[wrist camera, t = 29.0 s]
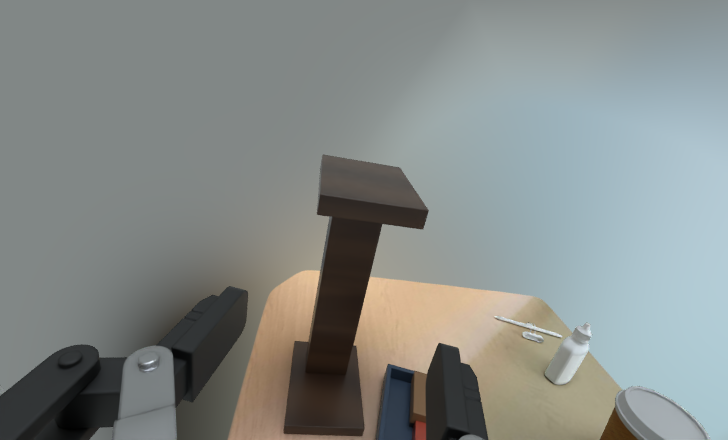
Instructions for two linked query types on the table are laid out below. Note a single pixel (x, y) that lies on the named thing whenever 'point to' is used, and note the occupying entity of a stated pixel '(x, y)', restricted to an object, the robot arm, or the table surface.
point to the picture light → (530, 326)
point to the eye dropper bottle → (569, 355)
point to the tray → (395, 405)
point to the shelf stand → (344, 291)
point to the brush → (418, 406)
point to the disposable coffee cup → (650, 418)
